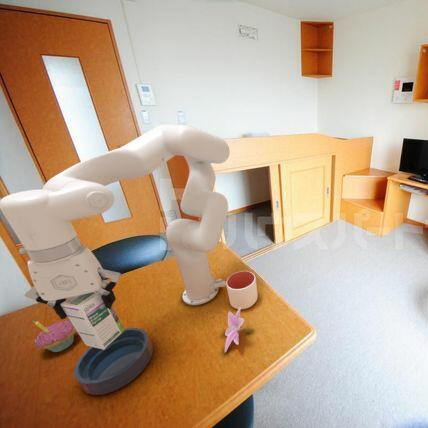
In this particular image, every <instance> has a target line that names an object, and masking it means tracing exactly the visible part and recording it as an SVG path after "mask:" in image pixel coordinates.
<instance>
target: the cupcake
mask: <svg viewBox="0 0 428 428" xmlns="http://www.w3.org/2000/svg"><path fill="white" fill-rule="evenodd" d="M32 323H34V325H35V326H37V327H38V328H39V329H41V330H42V331H41V332H39V333H38V334H37V335H36V338H35V339H34V343H33V344H34V346H35V347H36V348H37V349H39V350H48V351H50V352H52V353H58V352H62V351H64V350H65V349H68V348H70V346H71V345H72V344H73V343H74V340H75V339H74V337H75V336H74V335H76V332H77V330H76V329H75V327H74V326H73V324H72V323H71V321H70V320H63V321H59V322H55V323H52V324H50V325H48V326H47V327H45V326H44V325H42V324H41V323H40V322H39V321H35V320H33V321H32Z"/></svg>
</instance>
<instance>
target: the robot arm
mask: <svg viewBox="0 0 428 428" xmlns="http://www.w3.org/2000/svg"><path fill="white" fill-rule="evenodd" d="M230 152H231V149H230V146H229V144H228V142H227V141H226V140H225V139H224V138H223V137H220V136H218V135H215V134H212V133H209V132H207V131H204V130H201V129H198V128H196V127H193V126H189V125H185V124H183V125H182V124H167V123H166V124H165V123H164V124H159V125H157V126H154V127H153V128H151V129H150V130H148V131H146V132H145V133H143V134H141V135H140V136H138V137H136V138H134V139H132V140H131V141H129V142H128V143H125V144H124V145H122V146H120V147H119V148H115V149H112V150H110V151H107V152H103V153H101V154H99V155H96V156H93V157H89V158H87V159H85V160H82V161H80V162H78V163H76V164H74V165H72V166H70V167H68V168H66V169H65V170H63V171H61V172H59V173H58V174H56V175H54V176H53V177H51V178H50V179H48V180H47V182H46V183H45V184H43V186H42V189H29V190H23V191H18V192H15V193H11V194H8V195H6V196H3V197H2V198H1V199H0V211H1V212H2V214H3V216H4V217H5V219H6V220H7V222H8V223H9V226H10V227H11V228H12V230H13V232H14V234H15V235H16V236H17V238H18V240H19V242H20V244H21V245H22V247H20V248H19V249H18V253H19V254H20V255H22V256H23V255H25V256H28V258H29V260H28V261H27V269H28V273H29V277H30V280H31V282H32V284H33V286H32V287H31V288H30V289H28V290H27V291H26V293H24V297H25V298H28V299H30V300H34V301H36V302H37V303H39V304H44V305H46V307H48V308H52V309H53V310H54V312H55V314H56V315H57V316H58V317H59V319H60V320H65V319H67V318H68V316H67V315H66V313H65V312H64V310H63V309H62V307H61V305H60V304H61V303H63V302H65V301H66V300H67V299H69V298H71V297H73V296H78V295H83V294H87V293H92V292H95V291H97V292H99V293H101V294H103V295H102V296H101V298H102V300H103V302H104V304H105V306H106V308H111V307H112V306H113V304H114V303H115V302H116V299H117V298H116V295H115V293H114V291H113V289H114V288H115V287H116V285H117V283H118V281H119V279H120V278H121V276H122V273H121V272H117V271H114V270H108V269H104V268H103V267H102V265H101V263H100V261H99V260H98V258H97V257H96V256H95V254H94V253H93V252H92V251H91V249H90V248H89V247H87V245H83V244H82V242H81V240H80V238H79V236H78V234H77V231H76V230H75V227H74V226H73V224H72V221H76V220H82V219H86V218H87V219H88V218H91V217H95V216H99V215H102V214H103V213H105V212H107V211H109V210H110V209H111V208H112V207H113V205H114V202H115V196H114V193H113V192H112V191H111V190H110V188H108V187H107V186H108V185H111V184H113V183H117V182H120V181H125V180H133V179H138V178H142V177H146V176H149V175H150V174H152V173H153V172H154V171H156V170H157V169H159V168H160V167H161V166H162V165H164V164H165V163H167V162H168V161H169V160H171V159H172V158H173V157H176V156H180V157H181V156H182V157H184V159H185V161H186V163H187V166H188V170H189V171H188V172H189V173H188V177H187V181H186V185H185V188H184V190H183V194H182V197H181V200H180V210H181V211H182V212H183V213H184V214H185V215H188V216H191V217H195V218H200V221H199V220H194V219H190V218H176V219H174V220H172V221H171V222H169V224H168V225H167V227H166V228H165V238H166V241H167V243H168V245H169V247H170V249H171V250H172V253H173V255H174V258H175V260H176V262H177V266H178V270H179V273H180V276H181V280H182V283H183V284H182V285H183V287H184V291H183V293H182V300H183V303H184V304H186V305H188V306H199V305H203V304H206V303H208V302H209V301H211V300H213V299H214V298H215V297H216V296H217V295H218V293H219V291H220V290H219V289H220V288H224V287H227V286H226V280H223V278H218V279H215V277H214V276H213V275H212V273H211V268H210V263H209V259H208V254H207V253H210V252H212V251H214V250H215V249H216V248H217V246H218V245H219V243H220V240H221V238H222V237H221V236H222V233H223V230H224V227H225V223H226V219H227V216H228V213H229V202H228V199H227V197H226V196H225V195H224V194H223V193H220V192H217V191H214V189H215V184H216V180H217V179H216V177H217V176H216V172H215V169H214V167H213V165H212V164H214V165H215V164H217V165H220V164H224V163H225V162H226V161H227V160H228V159H229V157H230ZM106 279H109V280H110V281H107V280H106Z"/></svg>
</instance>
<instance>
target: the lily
mask: <svg viewBox="0 0 428 428" xmlns="http://www.w3.org/2000/svg"><path fill="white" fill-rule="evenodd" d="M241 310H242V309H241V307H240V308H239V309H237V311H236V313H235V315H234V313H232V312H231V310H228V314H227V326H228V327H227V328H226V330H225V332H224V336H226V339H225V343H224V354H225V353H227V351H228V349H229V347H230V345H231V343H232V342H234V343H235V345H237V346H239V342H240V341H239V333H240V331H241V330H244V331H246V332H248V333H251V331H249V330H248V329H246V328H243V327H242V325H243V324H244V322H245V318H242V317H241V316H240V315H241Z"/></svg>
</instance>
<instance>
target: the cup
mask: <svg viewBox="0 0 428 428" xmlns="http://www.w3.org/2000/svg"><path fill="white" fill-rule="evenodd" d="M225 282H226V286H225V287H226V291H227V296H228V300H229V301H228V302H229V304H230V306H231V307H232V308H234V309H235V310H238V309H239V308H240V307H241V310H246V309H248V308H250V307H253V305H254V304H256V303H257V300H258V296H259V294H258V288H257V287H258V286H257V279H256V275H255V274H254V273H253V272H252V271H249V270H240V271H237V272H234V273H233V274H231V275H229V277H228V278H227V279H226V280H225Z"/></svg>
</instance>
